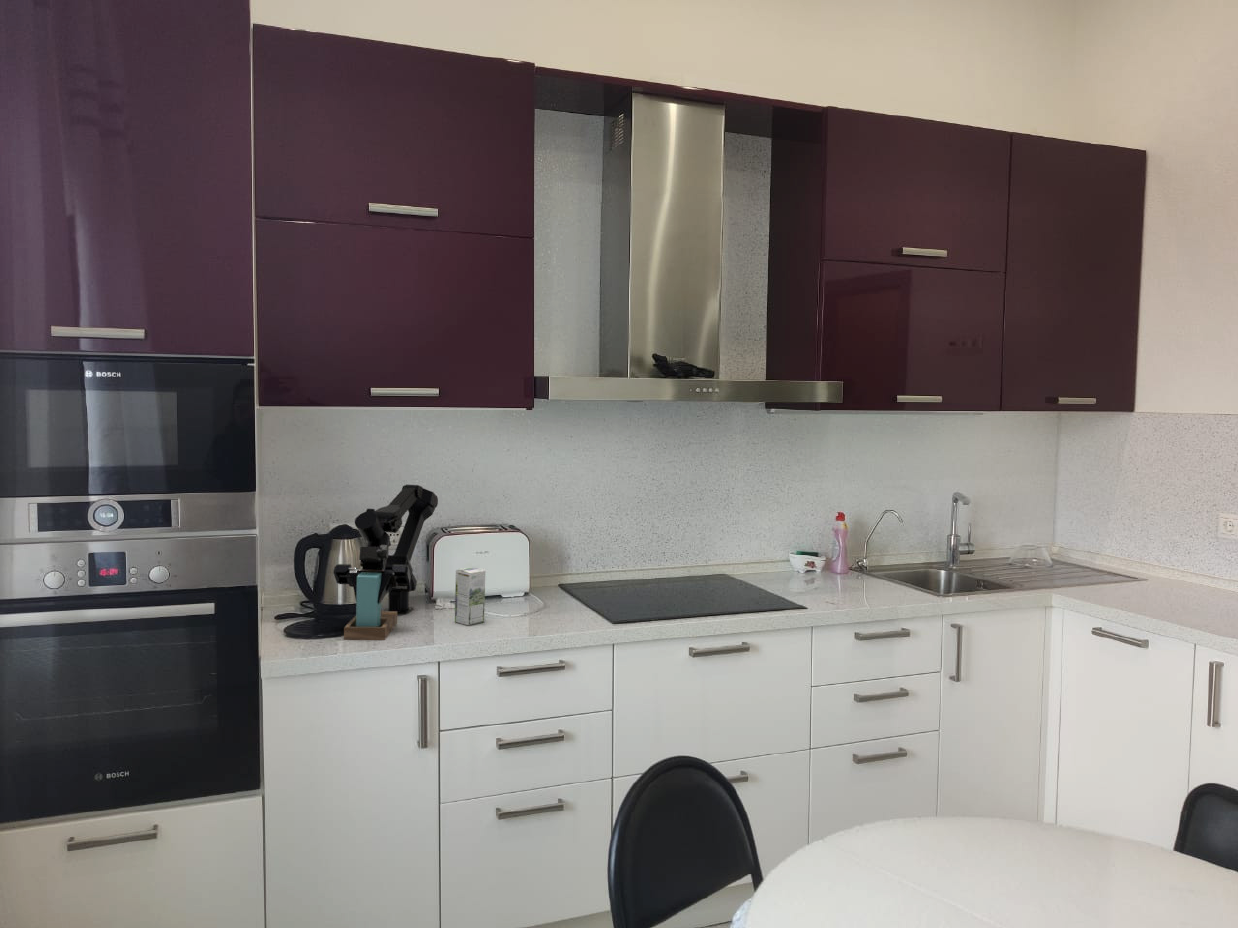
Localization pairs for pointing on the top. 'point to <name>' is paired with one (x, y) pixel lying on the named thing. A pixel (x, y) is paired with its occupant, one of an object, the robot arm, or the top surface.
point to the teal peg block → (368, 600)
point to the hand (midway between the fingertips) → (367, 602)
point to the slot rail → (371, 628)
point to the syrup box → (470, 596)
